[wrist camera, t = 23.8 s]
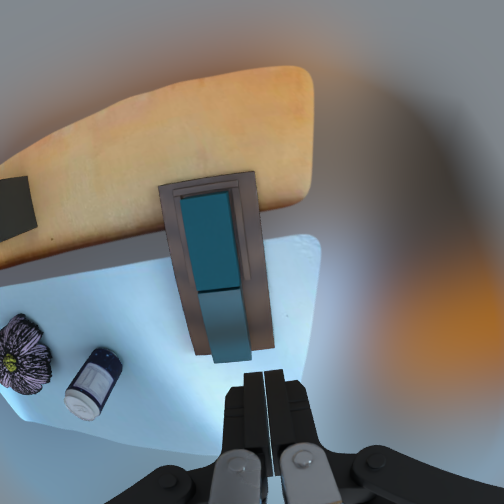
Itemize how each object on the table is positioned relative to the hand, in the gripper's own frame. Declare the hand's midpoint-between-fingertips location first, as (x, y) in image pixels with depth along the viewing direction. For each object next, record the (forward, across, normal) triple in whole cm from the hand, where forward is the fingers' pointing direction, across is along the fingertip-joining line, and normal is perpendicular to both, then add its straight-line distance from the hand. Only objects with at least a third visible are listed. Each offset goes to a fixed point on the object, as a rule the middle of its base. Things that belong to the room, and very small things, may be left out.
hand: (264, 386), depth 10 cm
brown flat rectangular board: (+24, +4, +4) cm, 25 cm away
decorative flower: (+24, +44, +15) cm, 52 cm away
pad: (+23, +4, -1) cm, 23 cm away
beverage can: (+24, +25, +17) cm, 39 cm away
